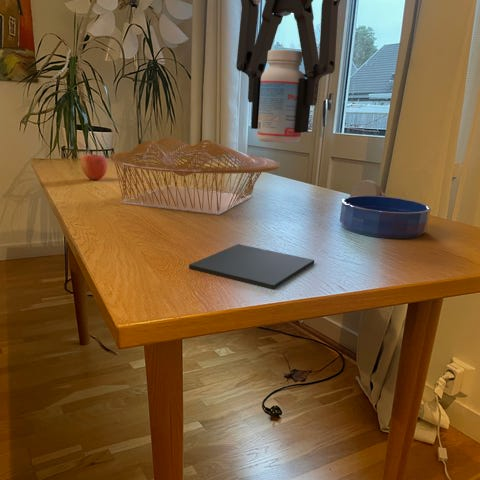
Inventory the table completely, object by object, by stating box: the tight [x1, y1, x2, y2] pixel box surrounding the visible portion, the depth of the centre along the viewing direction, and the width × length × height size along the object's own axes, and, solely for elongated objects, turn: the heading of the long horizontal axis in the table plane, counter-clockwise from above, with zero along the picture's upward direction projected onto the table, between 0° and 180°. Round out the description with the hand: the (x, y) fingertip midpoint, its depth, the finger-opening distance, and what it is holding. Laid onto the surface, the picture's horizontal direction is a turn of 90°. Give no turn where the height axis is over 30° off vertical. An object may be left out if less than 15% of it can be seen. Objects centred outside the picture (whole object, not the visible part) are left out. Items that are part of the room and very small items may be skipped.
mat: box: [188, 243, 315, 290], centre depth 72 cm, size 14×14×1 cm
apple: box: [80, 149, 108, 181], centre depth 136 cm, size 7×7×8 cm
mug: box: [349, 179, 387, 197], centre depth 113 cm, size 8×10×10 cm
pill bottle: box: [256, 49, 306, 144], centre depth 65 cm, size 6×6×11 cm
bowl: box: [339, 196, 432, 240], centre depth 97 cm, size 17×17×5 cm
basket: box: [109, 137, 281, 216], centre depth 113 cm, size 36×40×14 cm
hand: (279, 129), depth 67 cm, fingers closed on pill bottle, 6 cm apart
